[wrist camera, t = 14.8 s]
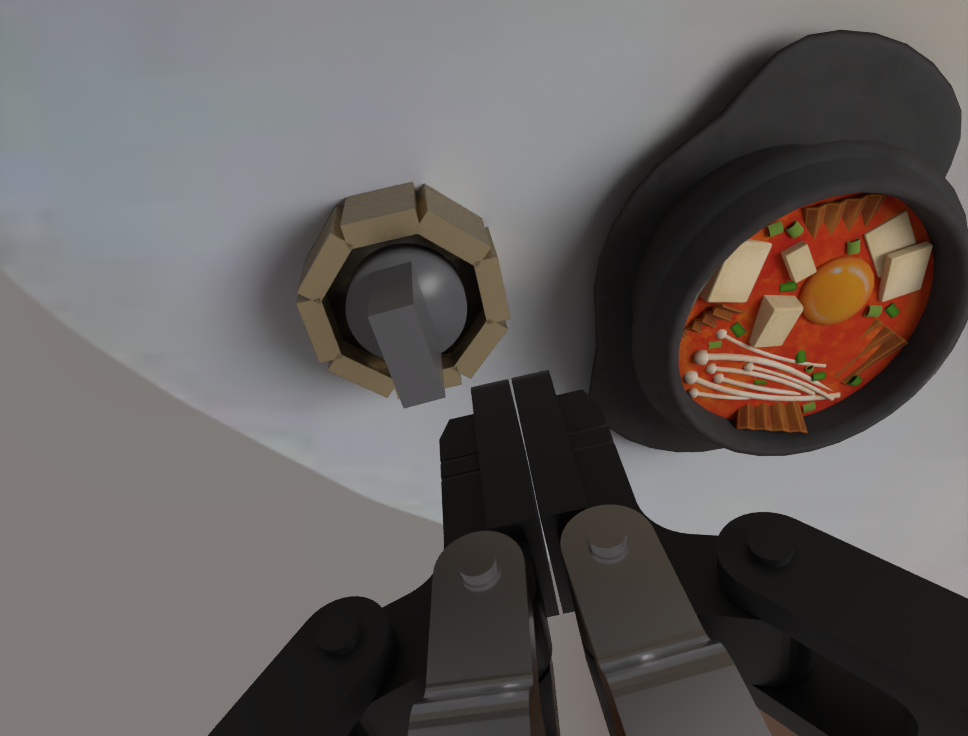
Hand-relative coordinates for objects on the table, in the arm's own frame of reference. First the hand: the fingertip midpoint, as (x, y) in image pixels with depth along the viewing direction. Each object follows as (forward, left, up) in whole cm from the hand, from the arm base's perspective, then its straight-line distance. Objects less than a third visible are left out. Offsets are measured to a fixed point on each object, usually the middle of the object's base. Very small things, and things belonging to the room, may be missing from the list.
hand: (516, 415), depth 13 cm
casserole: (-15, +11, -24) cm, 31 cm away
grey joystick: (+4, +7, -21) cm, 23 cm away
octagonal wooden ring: (+4, +7, -24) cm, 25 cm away
